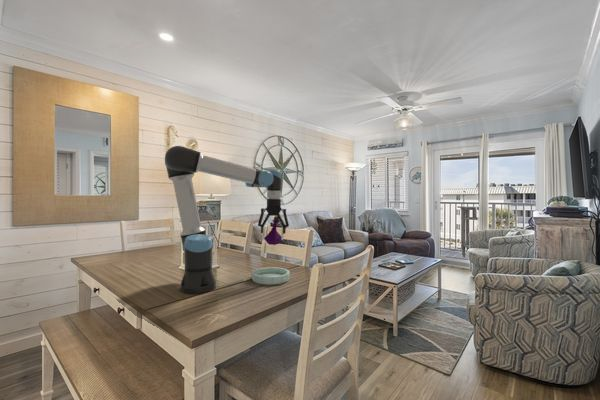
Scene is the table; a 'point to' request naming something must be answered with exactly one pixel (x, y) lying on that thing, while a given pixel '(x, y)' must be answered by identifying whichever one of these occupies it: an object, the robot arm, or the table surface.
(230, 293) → the table surface
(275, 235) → the perfume bottle
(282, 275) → the round tray
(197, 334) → the table surface
